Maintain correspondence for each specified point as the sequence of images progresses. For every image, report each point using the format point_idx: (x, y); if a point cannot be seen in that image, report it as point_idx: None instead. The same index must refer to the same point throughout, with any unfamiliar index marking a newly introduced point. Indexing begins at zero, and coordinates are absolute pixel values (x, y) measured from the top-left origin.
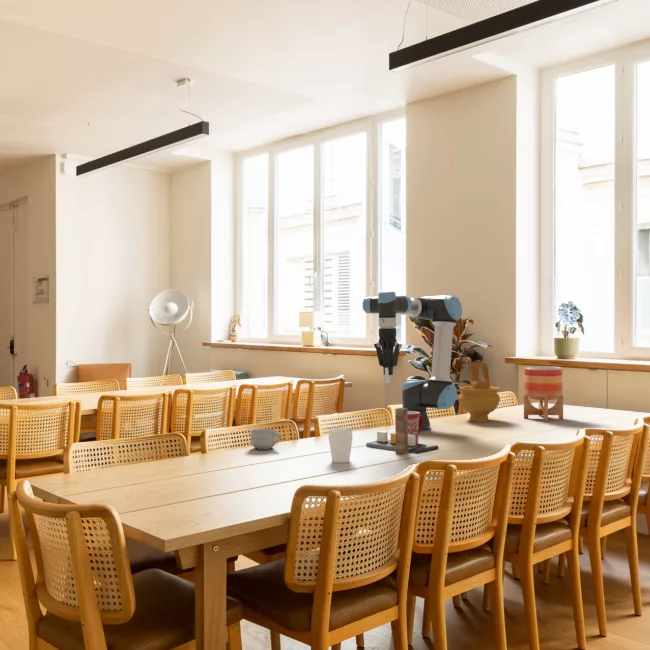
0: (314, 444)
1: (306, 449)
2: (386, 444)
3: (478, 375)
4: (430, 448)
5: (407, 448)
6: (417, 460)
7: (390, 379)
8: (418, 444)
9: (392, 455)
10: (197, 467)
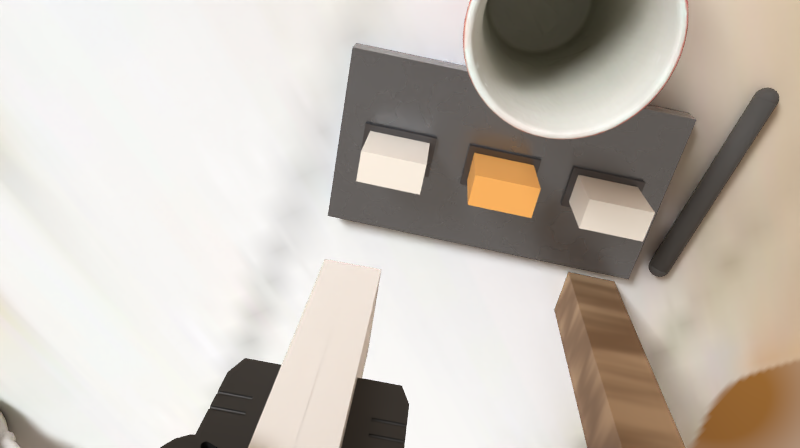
0: (68, 260)
1: (127, 370)
2: (454, 210)
3: None
4: (733, 170)
5: (619, 298)
6: (700, 400)
7: (369, 325)
8: (644, 132)
9: (553, 349)
10: None
